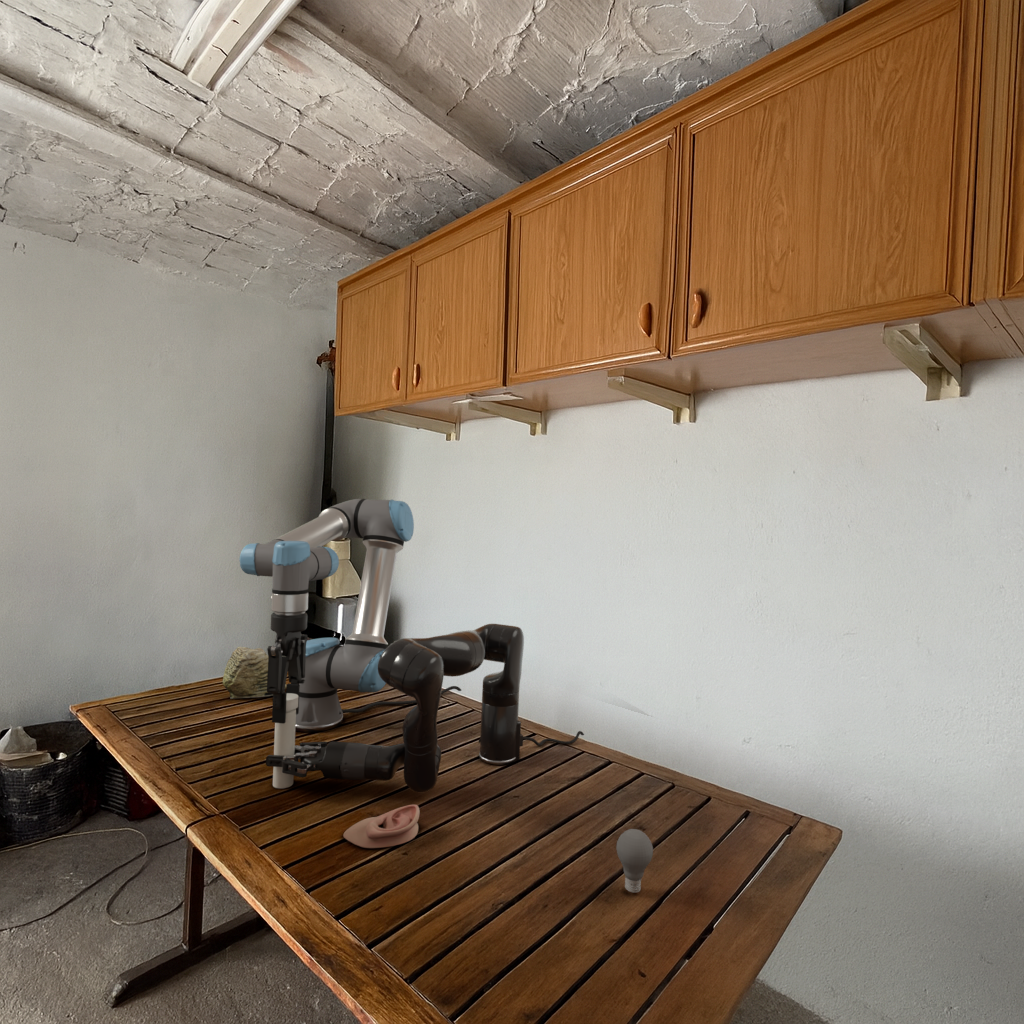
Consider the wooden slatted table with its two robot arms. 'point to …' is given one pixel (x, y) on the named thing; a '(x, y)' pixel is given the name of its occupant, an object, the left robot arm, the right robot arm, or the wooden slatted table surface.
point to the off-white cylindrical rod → (284, 748)
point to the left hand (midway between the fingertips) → (285, 717)
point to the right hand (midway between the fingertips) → (271, 755)
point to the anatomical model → (385, 828)
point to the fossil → (247, 673)
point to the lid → (291, 701)
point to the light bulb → (634, 857)
